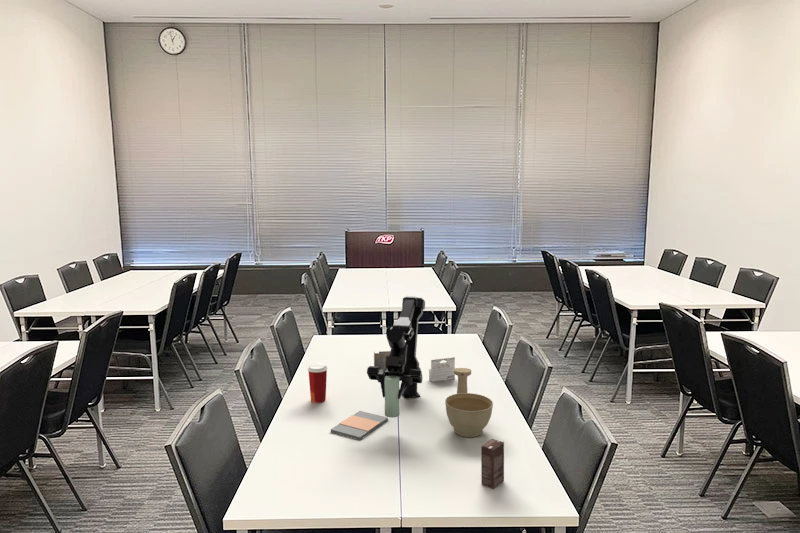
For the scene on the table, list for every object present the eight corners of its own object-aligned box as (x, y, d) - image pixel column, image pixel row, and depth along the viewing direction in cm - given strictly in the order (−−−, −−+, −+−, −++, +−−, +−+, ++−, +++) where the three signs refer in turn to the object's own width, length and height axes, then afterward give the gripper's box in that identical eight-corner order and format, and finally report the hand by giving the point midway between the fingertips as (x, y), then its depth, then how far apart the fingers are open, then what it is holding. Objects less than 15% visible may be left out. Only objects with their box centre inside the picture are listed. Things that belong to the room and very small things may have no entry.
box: (490, 476, 173) (491, 437, 171) (504, 481, 170) (505, 442, 168) (479, 484, 168) (480, 445, 166) (493, 490, 166) (494, 450, 164)
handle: (470, 411, 219) (471, 372, 216) (453, 410, 220) (453, 371, 217) (470, 406, 224) (471, 368, 221) (453, 405, 224) (454, 367, 222)
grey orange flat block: (359, 413, 217) (359, 410, 217) (387, 420, 211) (387, 417, 211) (330, 432, 202) (330, 428, 201) (360, 440, 196) (360, 436, 196)
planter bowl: (488, 445, 192) (489, 413, 190) (440, 438, 197) (440, 407, 195) (495, 424, 207) (496, 395, 206) (450, 419, 212) (450, 390, 210)
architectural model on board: (398, 366, 269) (398, 346, 268) (399, 368, 266) (399, 348, 265) (374, 367, 268) (373, 347, 266) (374, 369, 265) (374, 349, 263)
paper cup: (331, 397, 231) (330, 363, 229) (322, 405, 224) (322, 370, 222) (313, 395, 234) (312, 361, 232) (304, 402, 227) (303, 367, 224)
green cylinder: (383, 412, 204) (383, 376, 201) (397, 410, 205) (397, 375, 203) (386, 418, 199) (386, 381, 197) (400, 416, 200) (401, 380, 198)
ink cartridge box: (428, 380, 251) (428, 358, 250) (452, 377, 255) (453, 355, 253) (430, 382, 249) (431, 359, 247) (455, 379, 252) (455, 357, 251)
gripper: (367, 343, 203) (359, 385, 195) (421, 347, 200) (415, 389, 191) (373, 358, 212) (366, 399, 204) (424, 361, 209) (419, 403, 200)
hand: (391, 397), depth 199 cm, fingers closed on green cylinder, 5 cm apart
